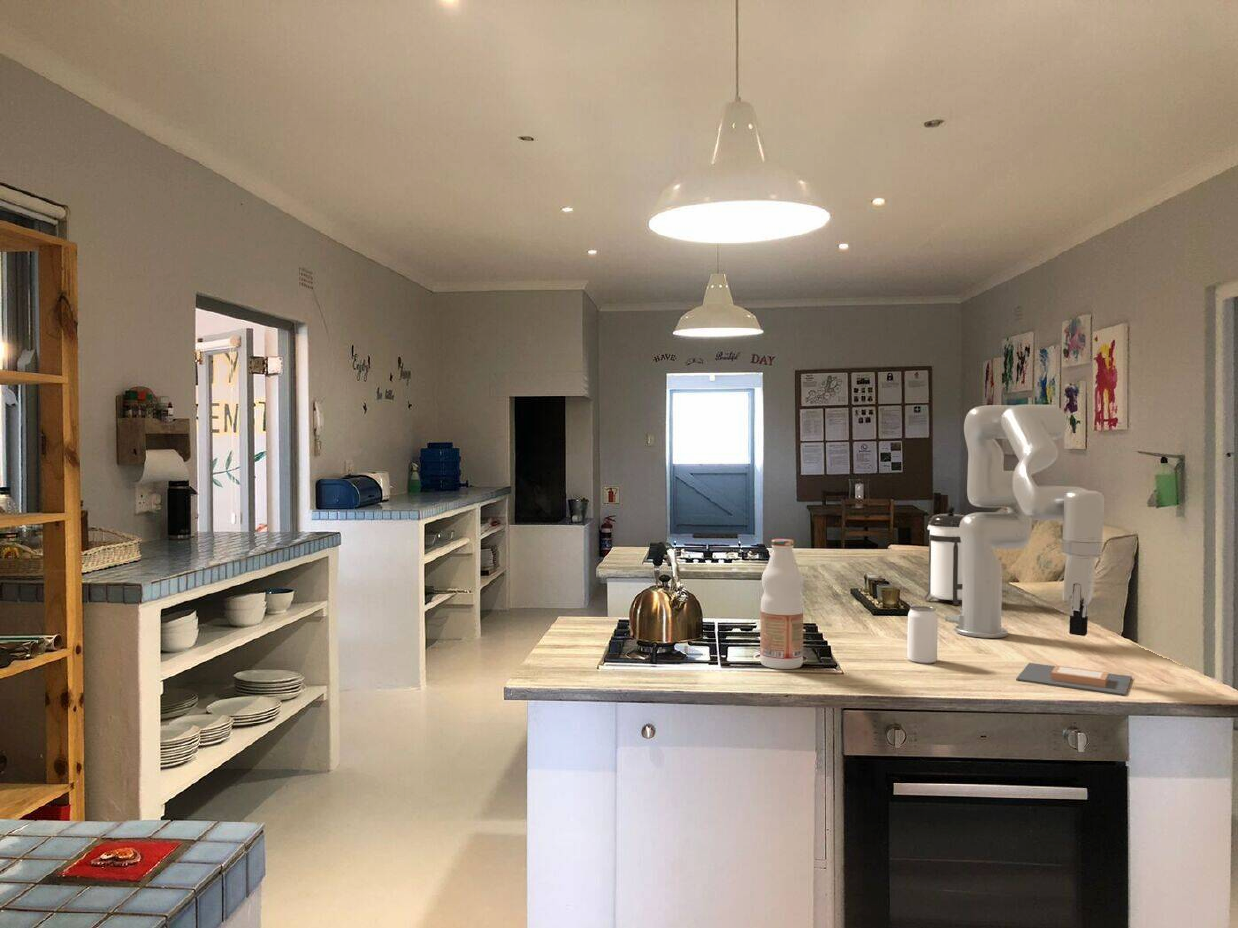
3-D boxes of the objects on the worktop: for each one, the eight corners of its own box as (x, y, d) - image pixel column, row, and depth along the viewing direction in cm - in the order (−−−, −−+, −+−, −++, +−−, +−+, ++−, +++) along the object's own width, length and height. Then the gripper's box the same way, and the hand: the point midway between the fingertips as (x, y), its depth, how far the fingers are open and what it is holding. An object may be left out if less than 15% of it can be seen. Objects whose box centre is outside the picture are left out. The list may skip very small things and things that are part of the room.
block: (1055, 672, 192) (1051, 679, 186) (1056, 665, 192) (1051, 672, 186) (1108, 679, 186) (1105, 687, 181) (1108, 672, 186) (1105, 679, 180)
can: (936, 658, 206) (937, 606, 206) (937, 664, 200) (937, 611, 199) (907, 655, 208) (908, 604, 208) (906, 662, 202) (907, 609, 202)
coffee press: (929, 605, 271) (930, 507, 271) (920, 596, 287) (921, 503, 286) (989, 607, 269) (990, 508, 268) (976, 598, 284) (978, 504, 283)
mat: (1016, 680, 187) (1016, 678, 187) (1029, 664, 200) (1029, 662, 200) (1125, 695, 176) (1125, 693, 176) (1131, 678, 189) (1131, 676, 189)
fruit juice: (763, 669, 195) (765, 542, 194) (757, 659, 204) (758, 537, 203) (806, 670, 195) (808, 542, 194) (798, 659, 204) (799, 537, 203)
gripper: (1067, 542, 196) (1063, 624, 198) (1056, 551, 184) (1053, 639, 185) (1105, 546, 192) (1102, 629, 193) (1097, 555, 180) (1093, 644, 181)
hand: (1078, 634), depth 189 cm, fingers closed
